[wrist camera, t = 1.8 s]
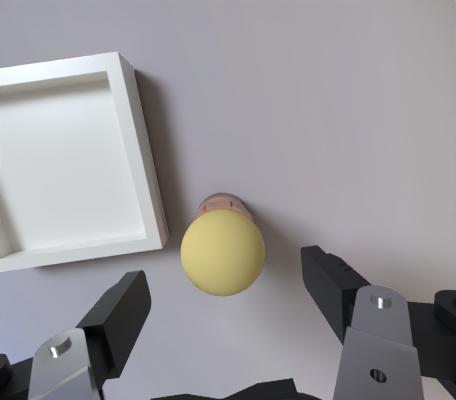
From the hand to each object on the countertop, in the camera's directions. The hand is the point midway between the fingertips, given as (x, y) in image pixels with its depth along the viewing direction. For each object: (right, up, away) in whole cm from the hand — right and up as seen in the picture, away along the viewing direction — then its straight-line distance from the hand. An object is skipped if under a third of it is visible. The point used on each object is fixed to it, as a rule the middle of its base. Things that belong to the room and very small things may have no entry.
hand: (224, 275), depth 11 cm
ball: (0, +1, +2) cm, 2 cm away
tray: (-13, +6, +7) cm, 16 cm away
